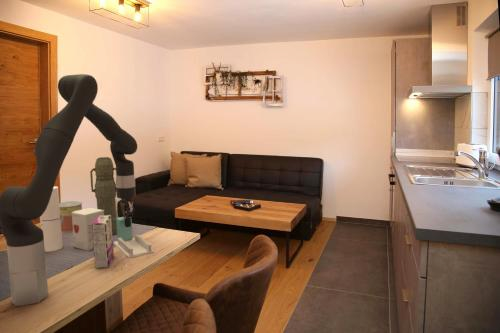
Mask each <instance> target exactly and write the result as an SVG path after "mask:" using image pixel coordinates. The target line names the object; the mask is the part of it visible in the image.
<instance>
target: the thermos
mask: <svg viewBox="0 0 500 333" xmlns="http://www.w3.org/2000/svg"><path fill="white" fill-rule="evenodd" d="M113 162H114V161H113V160H112V158H111V157H109V156H108V157H107V156H106V157H105V156H104V157H103V156H102V157H98V158H96V160H95V164H94V168H91V170H90V171H89V173H90V175H89V176H90V187H91V188H90V189H91V192H92V193H94V196H95V199H96V209H100V210H104V215H111V222H112V237H115V236H117V225H116V218H117V204H116V198H117V193H116V180H115V177H114V174H115V173H114V172H115V171H116V167H114V163H113ZM93 172H95V182H94V179H93V178H94V177H93Z"/></svg>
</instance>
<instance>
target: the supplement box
mask: <svg viewBox="0 0 500 333" xmlns="http://www.w3.org/2000/svg"><path fill="white" fill-rule="evenodd" d="M101 215H102V216H103V215H104V210H100V209H97V208H94V207H86V208H82V210H78V211H74V212H72V225H73V231H72V237H73V248H77V249H80V250H83V251H91V250H94V245H93V232H92V224H93V222H94V221H95V220H96V218H97V217H98V216H101Z"/></svg>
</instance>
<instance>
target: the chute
mask: <svg viewBox="0 0 500 333" xmlns="http://www.w3.org/2000/svg"><path fill="white" fill-rule="evenodd" d="M113 246H115V247H116V248H117V249H118V250H119V251H120V252H121V253H122V254H123V255H124V256H125V258H127V259H131V258H136V257H139V256H141V257H142V256H144V255H150V254H153V253H154V252H155V251H154V250H153V249H152V244H151V243H150V242H148V241H147V240H146V239H145V238H143V237H142V236H140V235H139V234H138V233H137V234H134V237H132V239H130V240H125V241H124V240H123V239H122V238H121V237H120V238H117V240H116V241H113Z"/></svg>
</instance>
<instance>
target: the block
mask: <svg viewBox="0 0 500 333" xmlns="http://www.w3.org/2000/svg"><path fill="white" fill-rule="evenodd" d="M132 220H133V219H132V218H131V226H130V227H125V223H124V217H123V216H121V217H116V225H117V235H116V239H118V238H120V237H121V238H122V239H123V240H124V241H125V240H130V239H132V238H133V222H132Z"/></svg>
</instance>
